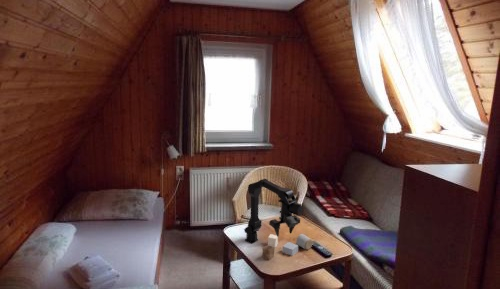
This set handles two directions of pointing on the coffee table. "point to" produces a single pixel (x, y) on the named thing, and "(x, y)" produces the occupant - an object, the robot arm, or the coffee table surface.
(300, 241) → the ceramic mug
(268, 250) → the walnut block
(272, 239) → the cream block
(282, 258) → the coffee table surface
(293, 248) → the light gray block
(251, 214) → the robot arm
